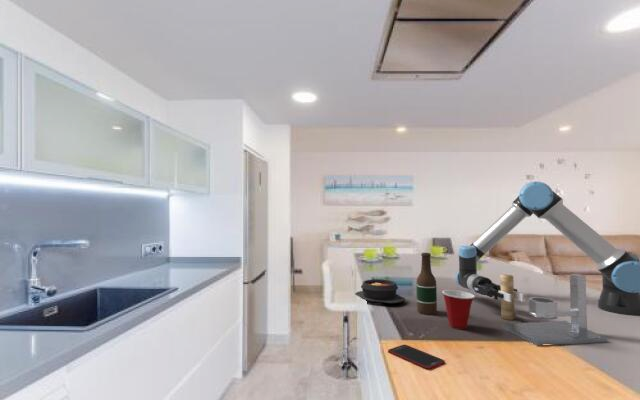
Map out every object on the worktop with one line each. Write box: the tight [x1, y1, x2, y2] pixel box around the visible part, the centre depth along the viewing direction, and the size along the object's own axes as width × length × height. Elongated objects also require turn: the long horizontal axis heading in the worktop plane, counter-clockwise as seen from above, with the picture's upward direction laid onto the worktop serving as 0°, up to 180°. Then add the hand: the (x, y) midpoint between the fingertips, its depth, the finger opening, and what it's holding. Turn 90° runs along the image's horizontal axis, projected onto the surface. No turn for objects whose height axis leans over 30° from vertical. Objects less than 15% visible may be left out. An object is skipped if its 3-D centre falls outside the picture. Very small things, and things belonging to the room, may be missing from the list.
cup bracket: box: [502, 273, 608, 346], centre depth 115 cm, size 24×16×20 cm, turn 97°
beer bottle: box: [416, 252, 438, 316], centre depth 141 cm, size 8×8×24 cm
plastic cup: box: [442, 289, 475, 330], centre depth 124 cm, size 11×11×12 cm
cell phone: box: [387, 344, 446, 371], centre depth 98 cm, size 8×15×1 cm, turn 35°
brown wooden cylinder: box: [499, 274, 515, 321], centre depth 132 cm, size 4×4×16 cm
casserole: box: [354, 278, 406, 304], centre depth 160 cm, size 25×19×8 cm
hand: (516, 298), depth 127 cm, fingers closed on brown wooden cylinder, 4 cm apart
